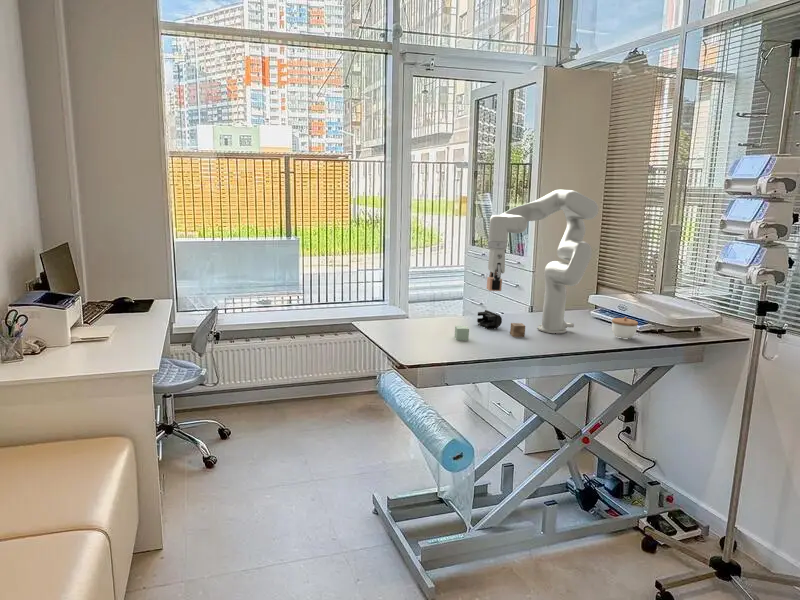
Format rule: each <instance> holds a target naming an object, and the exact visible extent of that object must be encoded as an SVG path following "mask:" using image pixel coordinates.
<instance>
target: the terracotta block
mask: <svg viewBox="0 0 800 600" xmlns="http://www.w3.org/2000/svg"><path fill="white" fill-rule="evenodd" d="M492 280H493V277H489V276H487V280H486V289H487V291H489V292H502V284H503V278H501V279H500V290H492Z"/></svg>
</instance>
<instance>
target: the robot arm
mask: <svg viewBox="0 0 800 600" xmlns="http://www.w3.org/2000/svg"><path fill="white" fill-rule="evenodd" d="M561 210H562V211H563V212H562V213H563V214H564V216H565V221H566V228H565V230H564V233H563V236H562V238H561V240H560V242H559V244H558V246H557V249H556V256H557V257H558V258H559V259H561V260H563V261H560V260H553V261H549V262H548V263H547V264H546V265H545V267H544V273H543V274H544V295H543V307H542V318H541V324H540V325H538V326H537V330H539V331H540V332H543V333H547V334H555V333H556V334H565V333H566V332H567V328H574V327H575V324H574V322H573V323H572V322H571V323H570V322H566V321H565V310H566V303H567V302H566V301H567V287H566V286H568V287H574V286H576V285H578V284H579V283H580V282H581V280H582V279H583V276H584V275H585V272H586V270H587V268H588V265H589V263H590V261H591V259H592V253H593V252H592V251H593V250H592V247H591V245H590V244H589V243H588V242H587V241H585V240H584V237H585V235H586V225H585V221H584V220H587V221H588V220H589V221H590V220H592V219H594V218H595V217H597V216H598V214H599V205H598V203H597V202H596V201H595V200H594V199H592V198H590V197H588V196H587V195H585V194H582V193H580V192H578V191H576V190H572V189H555V190H553V191H551V192H549V193H547V194H545V195H544V196H541V197H540V198H538V199H536V200H533V201H531V202H528V203H527V202H526V203H525V204H522V205H518V206H515V207H511V208H510V209H507V211H504V212H502V213H501V214H492V215H491V216H490V218H489V226H488V227H489V229H488V230H489V231H488V242H487V243H488V244H487V249H488V250H489V254H488V264H487V265H488V266H487V268H488V271H489V276H488V277H493V280H492V290H500V279H502V278H501V275H502V274H505V271H506V250H507V246H508V245H507V244H508V233H511V234H517V235H518V234H522V233H523V232H525V231H526V230H527V229H528V222H535V221H536V222H537V221H541V220H545V219H546V218H548V217H550V216H551V215H553V214H556V213H557V212H560V211H561ZM565 261H567V262H565Z"/></svg>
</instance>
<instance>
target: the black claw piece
mask: <svg viewBox="0 0 800 600" xmlns="http://www.w3.org/2000/svg"><path fill="white" fill-rule="evenodd" d="M477 316H478V318H477V319H476V322H477V324H478V325H477V326H479V325H480V326H479V327H481V326H483V327H485V328H484V329H486V328H487V329H486V330H495V329H494V328H496V329H498V328H499V327H500V326H501V324H502V323H503V322H502V321H503V318H502V316H501V314H498V313H495V312H493V311H490V310H487V309H484V311H478V312H477ZM480 316H481V317H480ZM479 317H480V318H479ZM483 327H482V328H483Z"/></svg>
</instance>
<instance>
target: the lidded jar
mask: <svg viewBox="0 0 800 600" xmlns="http://www.w3.org/2000/svg"><path fill="white" fill-rule="evenodd" d="M638 326H639V322H638V321H637V320H635V319H632V318H628V317H627V316H624V317H615V318H612V320H611V330H612V333H613V335H614V336H615V337H616V336H617V337H621V338H630V339H631V338H633V337H634V336H635V335H636V332H637V329H638Z"/></svg>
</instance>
